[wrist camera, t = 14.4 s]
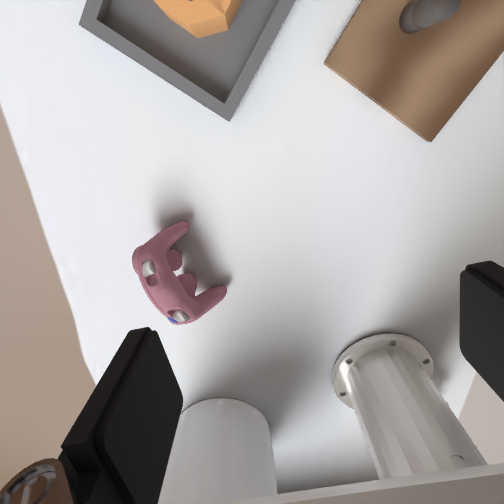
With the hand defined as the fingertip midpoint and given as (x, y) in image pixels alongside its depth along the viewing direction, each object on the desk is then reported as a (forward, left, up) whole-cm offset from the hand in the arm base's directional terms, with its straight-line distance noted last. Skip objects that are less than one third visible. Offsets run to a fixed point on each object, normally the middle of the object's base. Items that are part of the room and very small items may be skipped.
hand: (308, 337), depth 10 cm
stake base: (-5, -17, -24) cm, 29 cm away
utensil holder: (-14, +33, -24) cm, 43 cm away
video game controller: (+2, +12, -24) cm, 27 cm away
